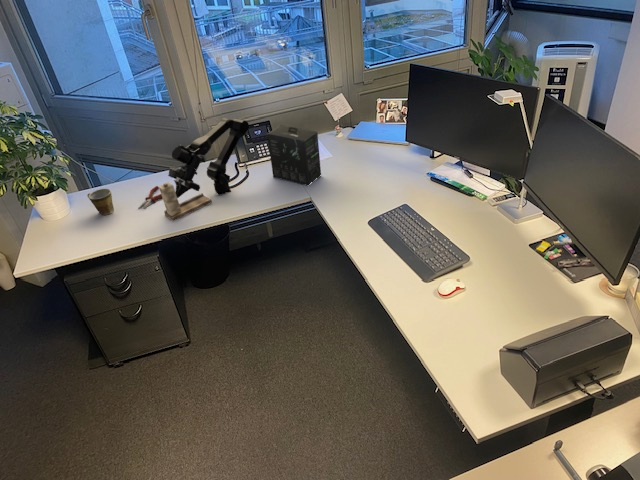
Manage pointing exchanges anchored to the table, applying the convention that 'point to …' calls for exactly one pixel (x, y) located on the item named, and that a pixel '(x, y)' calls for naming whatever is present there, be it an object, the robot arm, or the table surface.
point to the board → (190, 206)
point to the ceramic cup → (102, 201)
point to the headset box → (294, 154)
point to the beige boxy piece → (170, 199)
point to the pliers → (151, 198)
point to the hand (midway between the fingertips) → (176, 197)
